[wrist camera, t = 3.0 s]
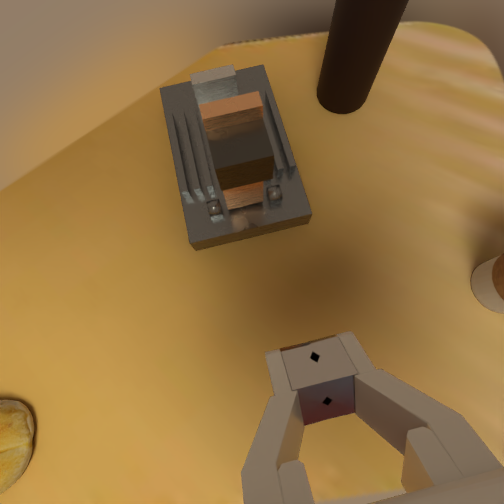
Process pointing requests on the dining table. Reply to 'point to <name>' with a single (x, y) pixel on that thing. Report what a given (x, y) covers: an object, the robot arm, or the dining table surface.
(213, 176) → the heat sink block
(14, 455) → the bread roll
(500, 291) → the coffee cup
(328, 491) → the dining table surface
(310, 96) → the dining table surface
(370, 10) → the bottle
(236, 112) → the brown and black bar
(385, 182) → the dining table surface
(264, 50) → the dining table surface
